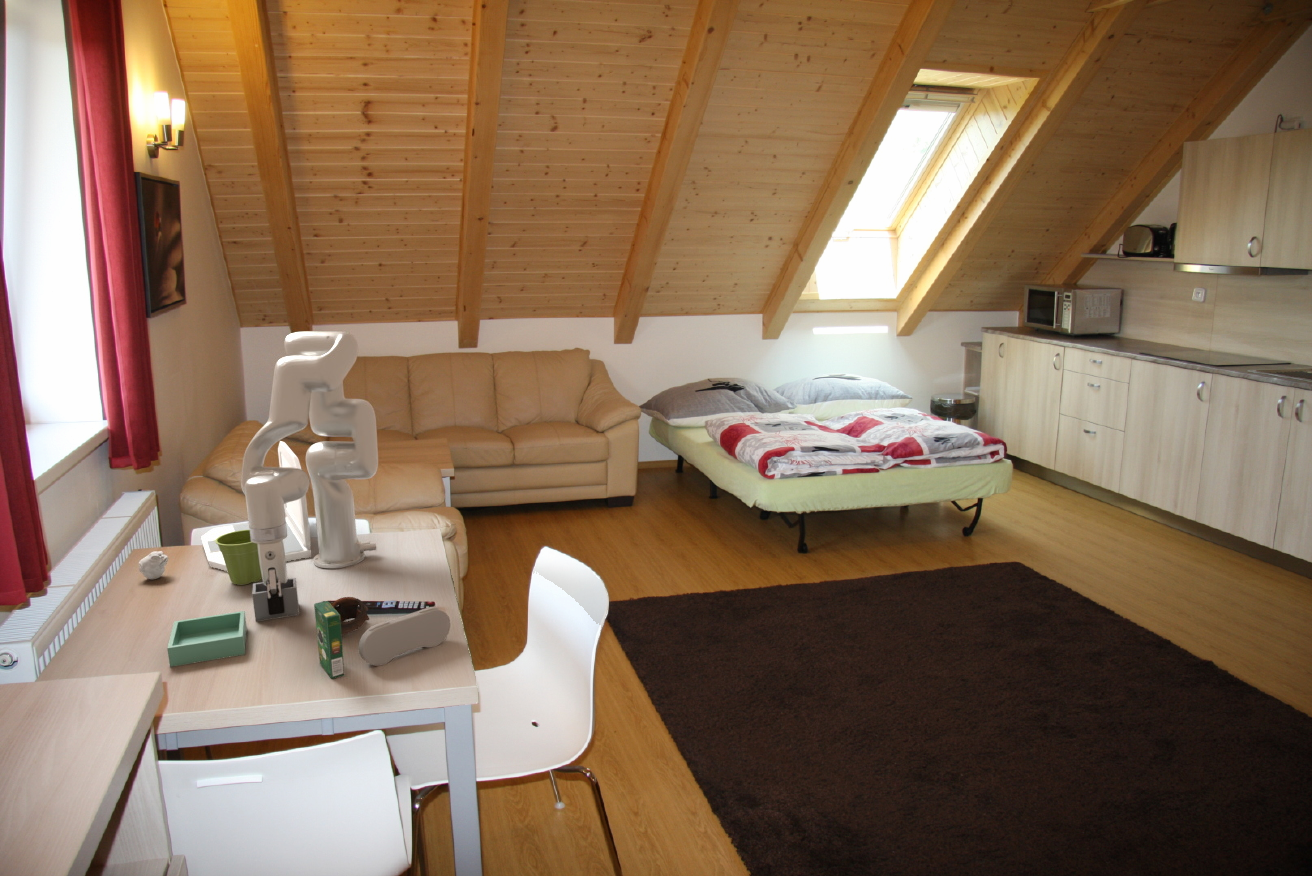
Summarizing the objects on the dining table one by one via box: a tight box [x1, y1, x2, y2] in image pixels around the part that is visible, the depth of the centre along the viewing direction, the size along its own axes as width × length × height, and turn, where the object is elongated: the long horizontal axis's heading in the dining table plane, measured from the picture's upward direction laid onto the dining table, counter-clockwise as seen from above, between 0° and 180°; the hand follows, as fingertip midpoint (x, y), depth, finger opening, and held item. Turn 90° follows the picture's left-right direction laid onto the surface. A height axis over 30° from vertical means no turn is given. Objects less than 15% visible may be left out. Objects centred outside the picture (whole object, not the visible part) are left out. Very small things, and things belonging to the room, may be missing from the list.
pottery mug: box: [321, 596, 370, 636], centre depth 197 cm, size 12×10×8 cm
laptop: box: [200, 440, 312, 572], centre depth 246 cm, size 33×24×26 cm
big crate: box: [166, 610, 248, 668], centre depth 190 cm, size 14×14×4 cm
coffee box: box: [313, 600, 346, 680], centre depth 178 cm, size 8×3×13 cm, turn 36°
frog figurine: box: [138, 550, 169, 580], centre depth 226 cm, size 6×7×7 cm
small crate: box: [251, 577, 300, 622], centre depth 206 cm, size 9×6×6 cm
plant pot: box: [215, 530, 263, 586], centre depth 224 cm, size 12×12×11 cm
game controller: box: [358, 606, 451, 667], centre depth 185 cm, size 20×2×8 cm, turn 133°
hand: (276, 606), depth 206 cm, fingers closed on small crate, 6 cm apart
